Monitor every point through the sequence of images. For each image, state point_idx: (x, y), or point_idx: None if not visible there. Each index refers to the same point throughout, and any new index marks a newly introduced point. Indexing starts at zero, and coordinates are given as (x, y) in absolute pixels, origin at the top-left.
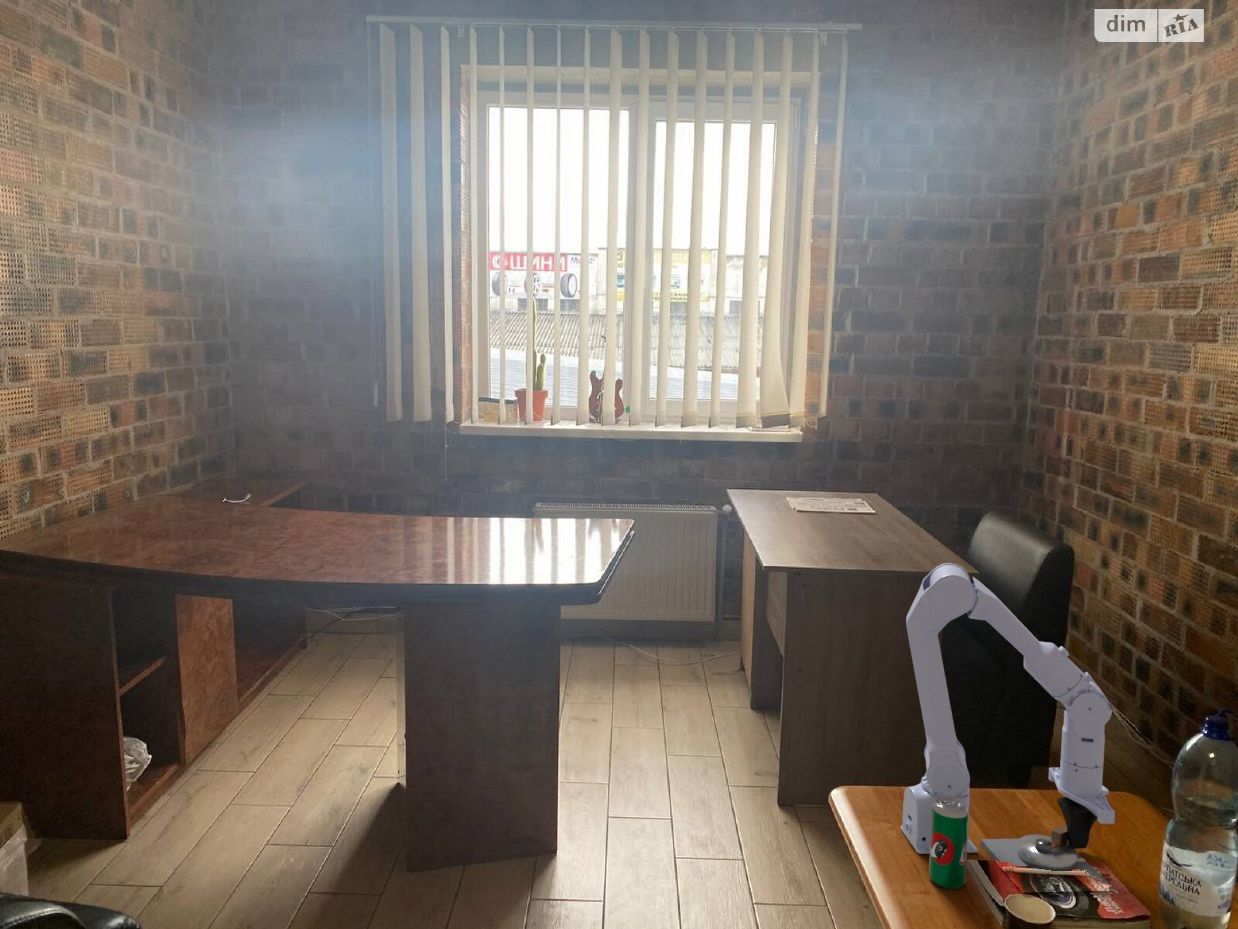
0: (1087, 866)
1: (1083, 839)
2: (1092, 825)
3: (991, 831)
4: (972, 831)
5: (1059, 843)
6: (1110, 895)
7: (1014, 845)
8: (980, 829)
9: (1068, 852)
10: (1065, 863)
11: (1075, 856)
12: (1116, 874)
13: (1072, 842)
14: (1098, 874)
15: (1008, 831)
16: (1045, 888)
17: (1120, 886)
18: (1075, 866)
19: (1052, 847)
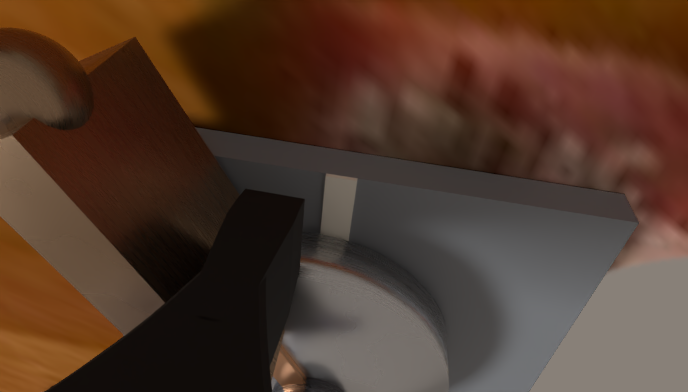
0: (412, 205)
1: (283, 268)
2: (265, 356)
3: (32, 313)
4: (53, 360)
5: (278, 349)
6: (652, 211)
7: None
8: (27, 334)
9: (354, 332)
10: (448, 389)
11: (406, 329)
12: (482, 4)
13: (289, 311)
14: (512, 206)
15: (9, 262)
16: None
17: (615, 90)
18: (417, 285)
19: (292, 363)
